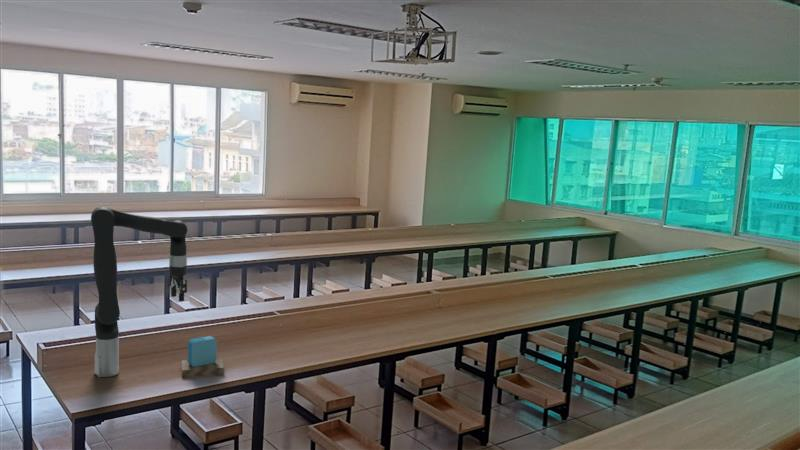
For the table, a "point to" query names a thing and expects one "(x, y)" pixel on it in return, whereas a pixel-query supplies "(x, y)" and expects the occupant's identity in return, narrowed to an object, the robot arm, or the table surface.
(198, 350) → the data package
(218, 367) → the mottled brown block
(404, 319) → the table surface
